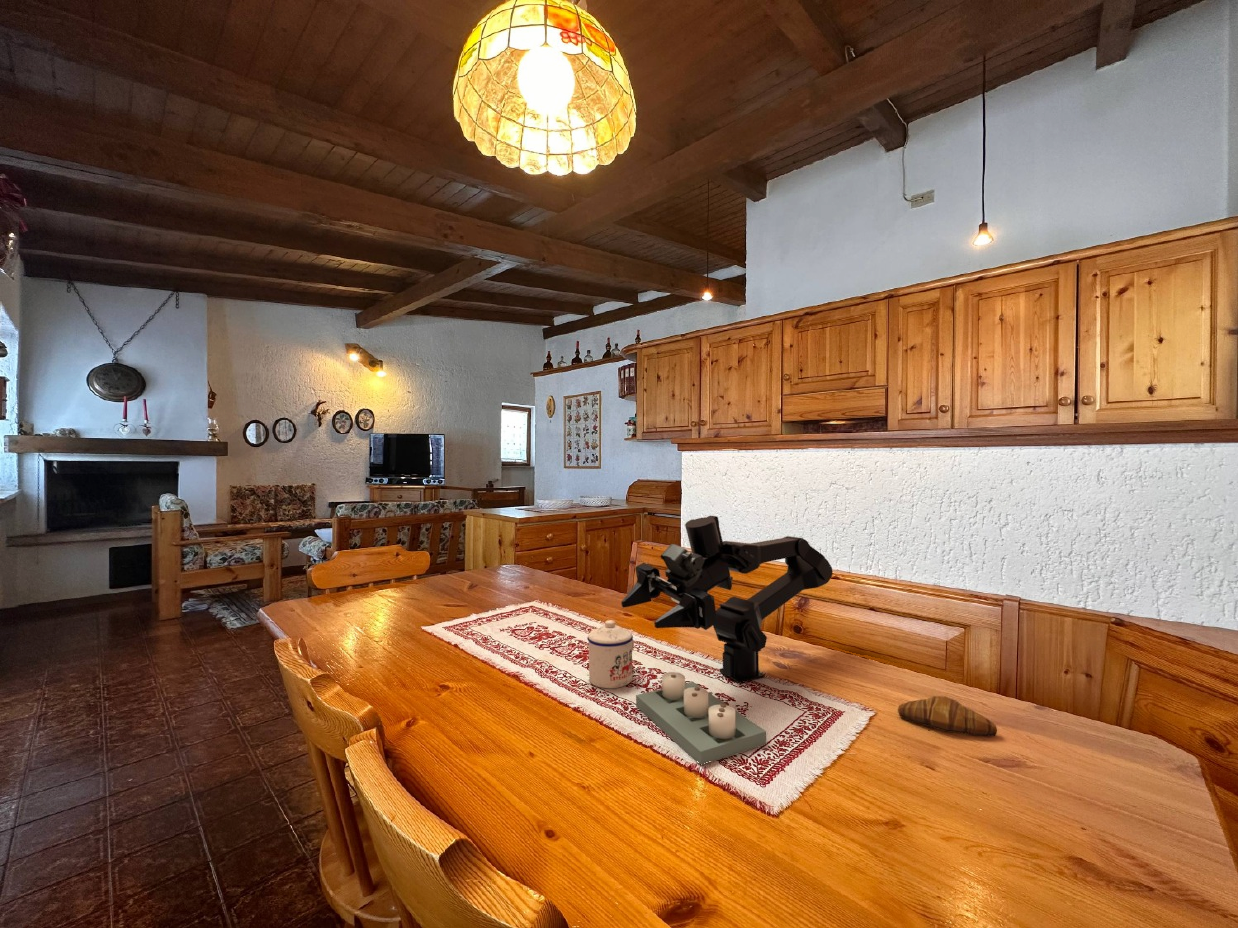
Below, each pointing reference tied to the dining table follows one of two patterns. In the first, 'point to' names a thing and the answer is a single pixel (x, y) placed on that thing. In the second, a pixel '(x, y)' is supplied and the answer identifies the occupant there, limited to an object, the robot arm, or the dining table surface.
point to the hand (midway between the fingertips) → (637, 614)
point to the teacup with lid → (610, 656)
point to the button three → (722, 721)
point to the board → (699, 727)
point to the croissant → (947, 716)
